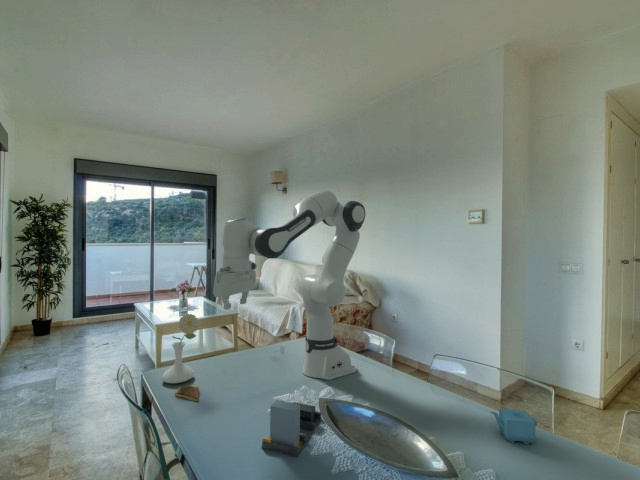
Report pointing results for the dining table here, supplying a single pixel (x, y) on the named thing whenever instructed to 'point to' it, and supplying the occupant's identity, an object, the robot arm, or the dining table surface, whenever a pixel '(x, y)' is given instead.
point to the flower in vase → (180, 370)
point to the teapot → (516, 425)
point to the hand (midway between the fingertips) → (235, 306)
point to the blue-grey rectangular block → (285, 422)
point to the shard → (188, 392)
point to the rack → (307, 427)
